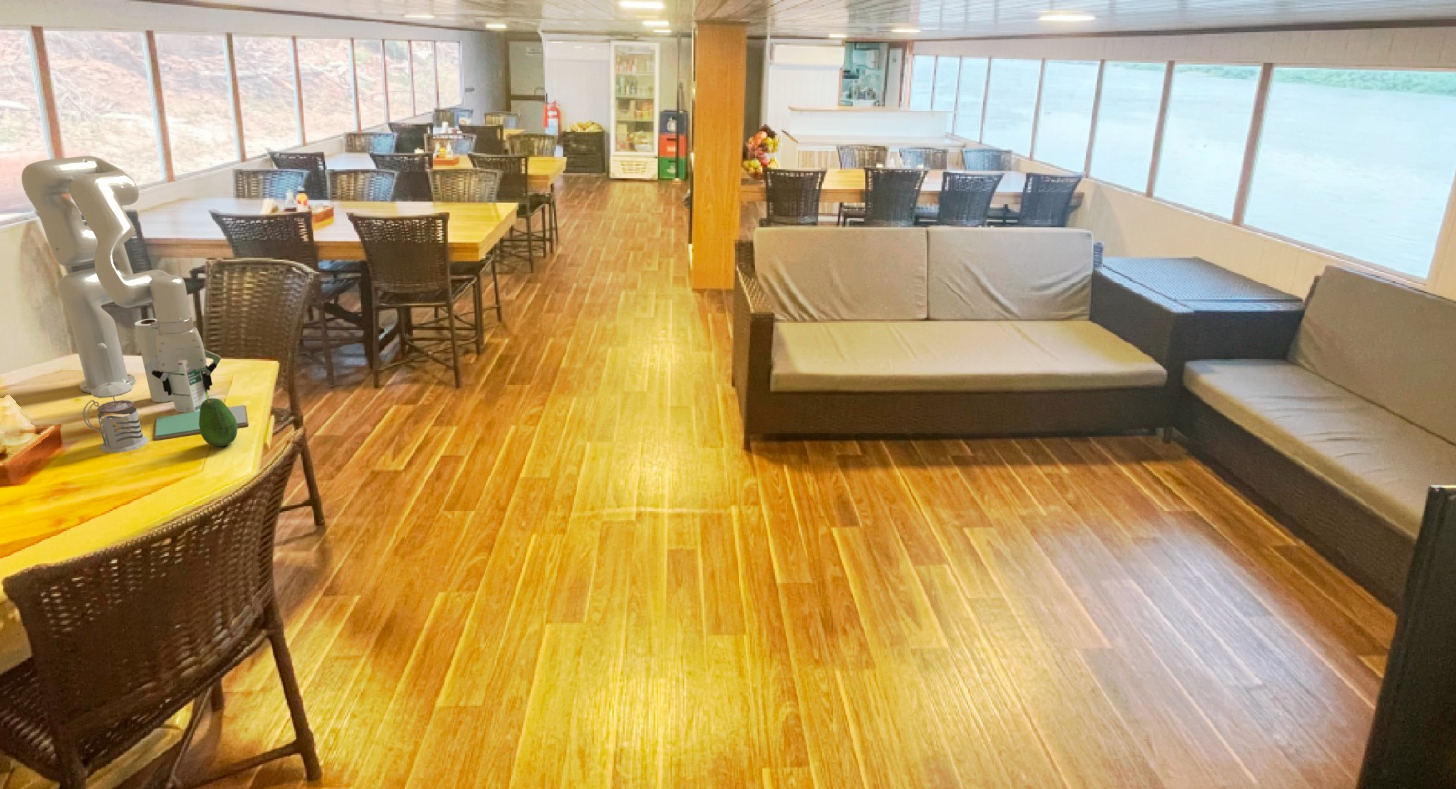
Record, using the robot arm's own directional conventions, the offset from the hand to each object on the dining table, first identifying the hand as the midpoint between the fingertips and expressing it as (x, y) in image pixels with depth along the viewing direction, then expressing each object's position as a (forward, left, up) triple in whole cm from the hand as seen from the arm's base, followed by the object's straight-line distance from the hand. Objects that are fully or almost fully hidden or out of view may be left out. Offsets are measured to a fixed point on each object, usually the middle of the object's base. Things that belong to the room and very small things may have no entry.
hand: (189, 390), depth 231 cm
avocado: (+27, +6, -5) cm, 28 cm away
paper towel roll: (-10, -6, -5) cm, 13 cm away
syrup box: (0, 0, -5) cm, 5 cm away
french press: (+17, -15, -5) cm, 23 cm away
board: (+11, +2, -5) cm, 12 cm away
